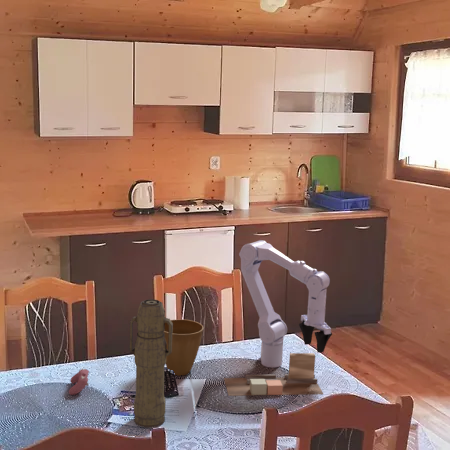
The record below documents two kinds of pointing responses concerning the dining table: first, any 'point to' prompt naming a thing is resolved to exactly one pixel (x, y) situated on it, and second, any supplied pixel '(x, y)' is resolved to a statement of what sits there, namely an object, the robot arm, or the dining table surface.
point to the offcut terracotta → (274, 387)
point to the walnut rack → (289, 385)
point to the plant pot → (183, 345)
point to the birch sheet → (301, 366)
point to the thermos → (150, 362)
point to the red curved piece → (79, 381)
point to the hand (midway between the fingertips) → (313, 347)
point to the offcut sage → (258, 386)
